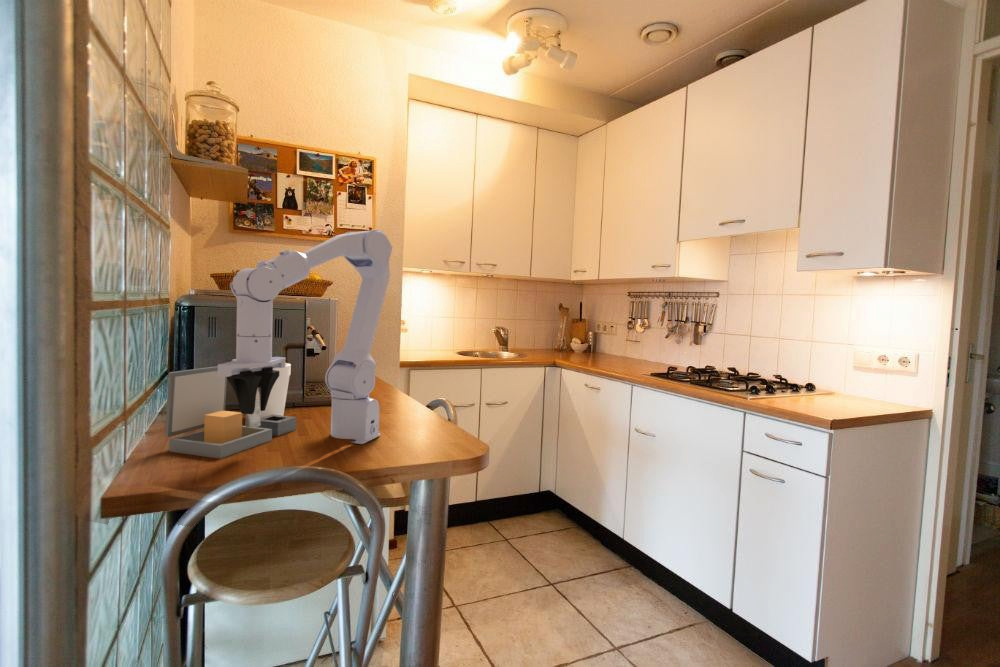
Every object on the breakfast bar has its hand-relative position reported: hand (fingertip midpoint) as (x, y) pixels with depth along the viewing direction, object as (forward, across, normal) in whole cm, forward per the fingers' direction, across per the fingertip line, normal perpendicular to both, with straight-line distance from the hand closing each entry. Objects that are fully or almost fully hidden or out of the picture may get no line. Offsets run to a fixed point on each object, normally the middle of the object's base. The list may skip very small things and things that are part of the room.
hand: (253, 411), depth 90 cm
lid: (-1, -2, -14) cm, 14 cm away
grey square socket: (+8, -15, -7) cm, 19 cm away
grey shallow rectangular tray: (+8, -2, -8) cm, 12 cm away
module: (+8, -2, -8) cm, 12 cm away
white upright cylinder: (+2, 0, 0) cm, 2 cm away
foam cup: (+9, -27, -18) cm, 33 cm away
